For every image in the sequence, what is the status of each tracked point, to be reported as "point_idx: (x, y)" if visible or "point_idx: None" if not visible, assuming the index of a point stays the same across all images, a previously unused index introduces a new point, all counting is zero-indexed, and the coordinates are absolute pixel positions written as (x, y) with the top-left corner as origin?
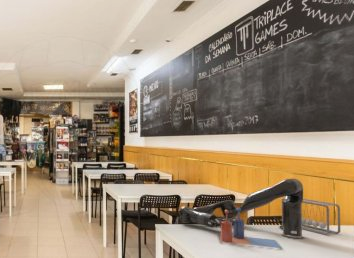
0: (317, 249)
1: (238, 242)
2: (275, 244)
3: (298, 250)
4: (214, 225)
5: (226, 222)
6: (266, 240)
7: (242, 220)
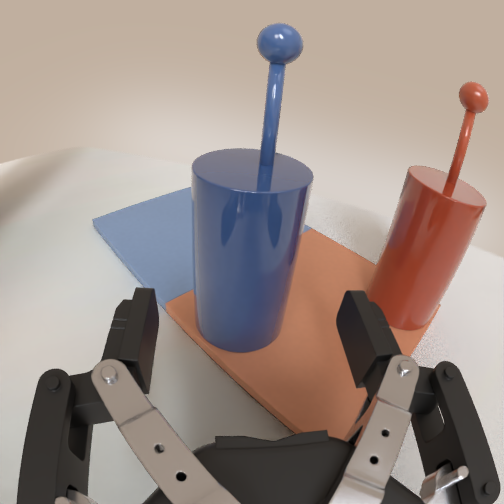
0: (105, 162)
1: (345, 264)
2: (184, 196)
3: (170, 170)
4: (427, 430)
5: (453, 180)
6: (141, 227)
7: (254, 150)
